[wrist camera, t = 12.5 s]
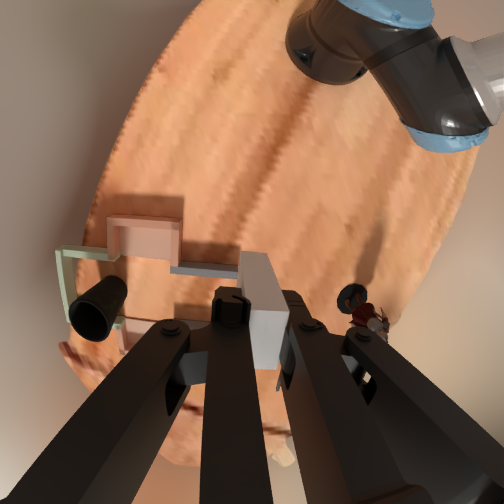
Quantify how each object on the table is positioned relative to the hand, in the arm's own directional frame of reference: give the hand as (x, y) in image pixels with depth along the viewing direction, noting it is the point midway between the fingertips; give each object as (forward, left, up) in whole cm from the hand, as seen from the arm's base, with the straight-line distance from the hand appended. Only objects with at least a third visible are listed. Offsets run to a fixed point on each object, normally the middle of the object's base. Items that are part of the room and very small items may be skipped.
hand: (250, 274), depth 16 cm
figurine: (-24, +16, -30) cm, 41 cm away
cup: (+22, +18, -30) cm, 41 cm away
